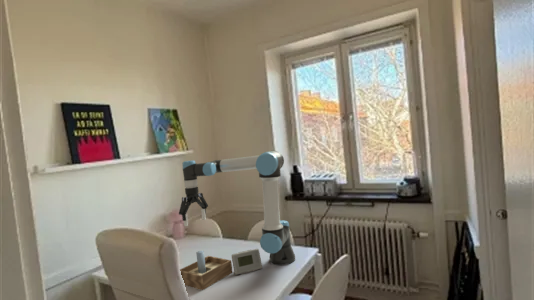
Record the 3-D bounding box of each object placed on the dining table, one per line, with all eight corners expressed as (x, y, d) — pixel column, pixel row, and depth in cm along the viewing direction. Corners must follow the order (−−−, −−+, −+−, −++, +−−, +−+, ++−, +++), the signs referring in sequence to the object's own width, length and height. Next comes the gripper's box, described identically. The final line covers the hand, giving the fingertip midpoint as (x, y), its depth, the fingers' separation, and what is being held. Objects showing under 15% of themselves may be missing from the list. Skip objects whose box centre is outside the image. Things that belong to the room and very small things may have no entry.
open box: (232, 272, 178) (231, 260, 178) (202, 290, 160) (200, 276, 160) (209, 267, 189) (208, 255, 188) (179, 283, 171) (177, 270, 171)
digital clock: (233, 276, 173) (231, 257, 173) (232, 269, 182) (230, 251, 182) (263, 271, 176) (261, 252, 175) (261, 265, 185) (259, 246, 184)
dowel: (208, 276, 177) (205, 251, 176) (202, 279, 173) (199, 253, 173) (203, 275, 179) (200, 250, 178) (197, 278, 176) (194, 252, 175)
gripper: (203, 183, 201) (206, 216, 202) (169, 191, 181) (173, 228, 182) (211, 183, 196) (215, 217, 197) (178, 191, 177) (182, 229, 177)
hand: (195, 222), depth 190 cm, fingers open, 13 cm apart
